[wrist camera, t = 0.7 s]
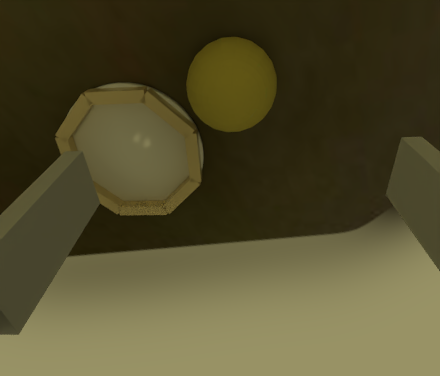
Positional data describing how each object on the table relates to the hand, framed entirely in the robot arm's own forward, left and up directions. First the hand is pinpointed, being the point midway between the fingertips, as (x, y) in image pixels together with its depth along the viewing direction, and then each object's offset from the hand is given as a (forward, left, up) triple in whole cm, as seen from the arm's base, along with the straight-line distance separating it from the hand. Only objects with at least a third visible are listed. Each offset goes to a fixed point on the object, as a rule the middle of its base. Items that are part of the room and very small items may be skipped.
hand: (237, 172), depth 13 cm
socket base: (-11, -8, -19) cm, 23 cm away
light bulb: (0, 0, -19) cm, 19 cm away
